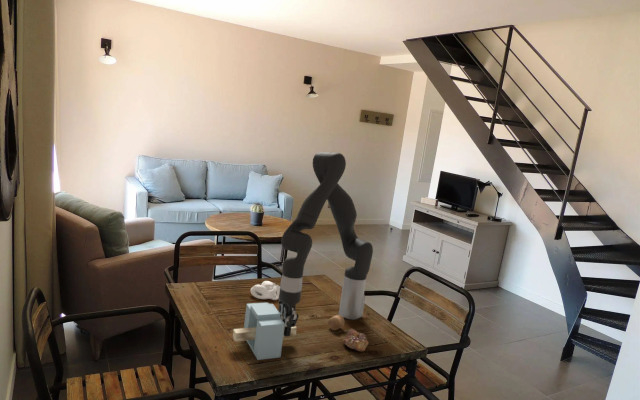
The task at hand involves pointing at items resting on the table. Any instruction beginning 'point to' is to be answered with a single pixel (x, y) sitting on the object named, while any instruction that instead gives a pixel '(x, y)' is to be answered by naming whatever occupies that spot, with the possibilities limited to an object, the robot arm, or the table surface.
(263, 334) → the light blue notched block
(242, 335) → the long cream stick
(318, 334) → the table surface
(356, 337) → the mineral specimen
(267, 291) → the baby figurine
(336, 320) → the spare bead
